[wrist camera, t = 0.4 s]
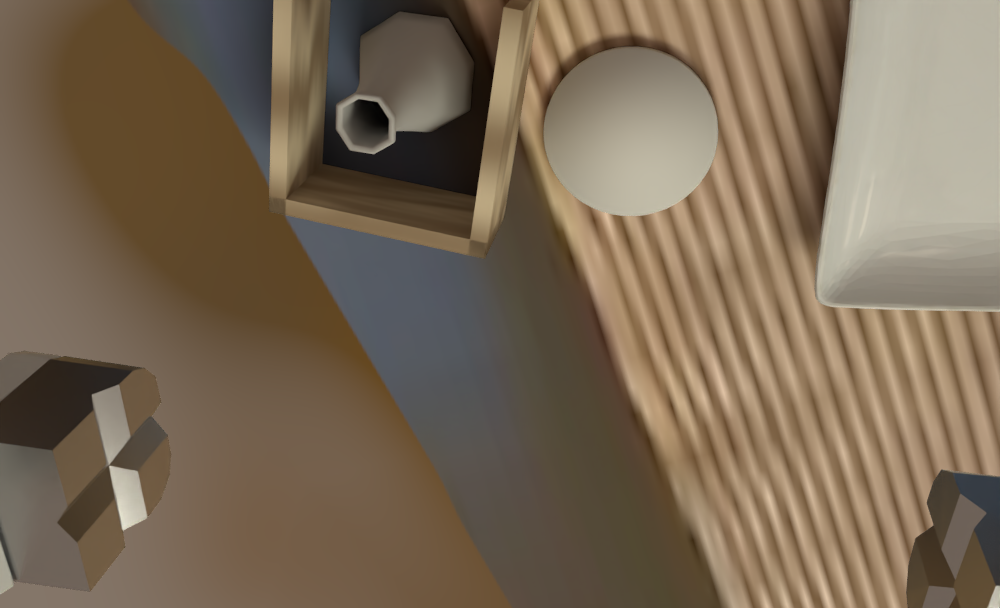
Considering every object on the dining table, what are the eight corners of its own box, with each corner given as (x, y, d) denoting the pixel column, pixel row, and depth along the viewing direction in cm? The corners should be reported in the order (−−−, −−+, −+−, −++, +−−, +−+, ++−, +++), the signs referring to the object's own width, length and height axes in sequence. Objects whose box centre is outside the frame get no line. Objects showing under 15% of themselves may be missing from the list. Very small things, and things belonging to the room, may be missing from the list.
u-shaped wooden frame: (316, -54, 52) (274, -38, 47) (541, -11, 51) (523, 10, 46) (306, 175, 59) (269, 211, 54) (503, 217, 58) (484, 258, 53)
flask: (343, 22, 54) (276, 65, 45) (460, -2, 52) (413, 38, 44) (377, 139, 57) (321, 201, 49) (489, 121, 55) (450, 181, 47)
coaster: (561, 30, 52) (559, 32, 51) (738, 65, 51) (738, 68, 50) (532, 193, 57) (530, 197, 56) (693, 227, 56) (693, 231, 55)
